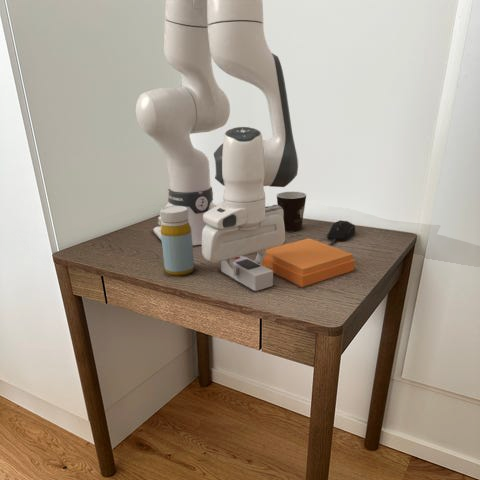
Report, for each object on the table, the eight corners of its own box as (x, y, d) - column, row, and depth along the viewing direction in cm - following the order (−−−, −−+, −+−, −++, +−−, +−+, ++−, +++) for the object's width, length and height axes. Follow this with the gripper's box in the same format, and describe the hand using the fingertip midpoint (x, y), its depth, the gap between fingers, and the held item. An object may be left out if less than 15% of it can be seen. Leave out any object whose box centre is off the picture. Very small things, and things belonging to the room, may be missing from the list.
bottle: (166, 266, 113) (159, 206, 106) (194, 265, 113) (189, 204, 106) (164, 277, 107) (157, 214, 100) (194, 275, 107) (189, 212, 100)
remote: (221, 271, 109) (220, 256, 107) (238, 267, 111) (237, 251, 109) (255, 291, 98) (255, 274, 96) (273, 285, 101) (273, 269, 99)
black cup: (293, 222, 143) (294, 190, 138) (310, 229, 137) (312, 195, 132) (262, 229, 138) (262, 195, 133) (279, 236, 131) (279, 201, 127)
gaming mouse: (319, 243, 125) (320, 229, 123) (336, 228, 137) (337, 215, 135) (342, 246, 122) (343, 231, 121) (357, 231, 134) (358, 217, 132)
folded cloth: (259, 266, 112) (258, 250, 110) (308, 252, 119) (309, 237, 117) (302, 287, 100) (302, 270, 98) (354, 270, 108) (355, 254, 106)
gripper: (274, 200, 104) (273, 257, 111) (195, 216, 95) (200, 277, 101) (292, 205, 100) (290, 265, 106) (211, 222, 90) (214, 287, 97)
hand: (245, 271), depth 104 cm, fingers closed on remote, 5 cm apart
